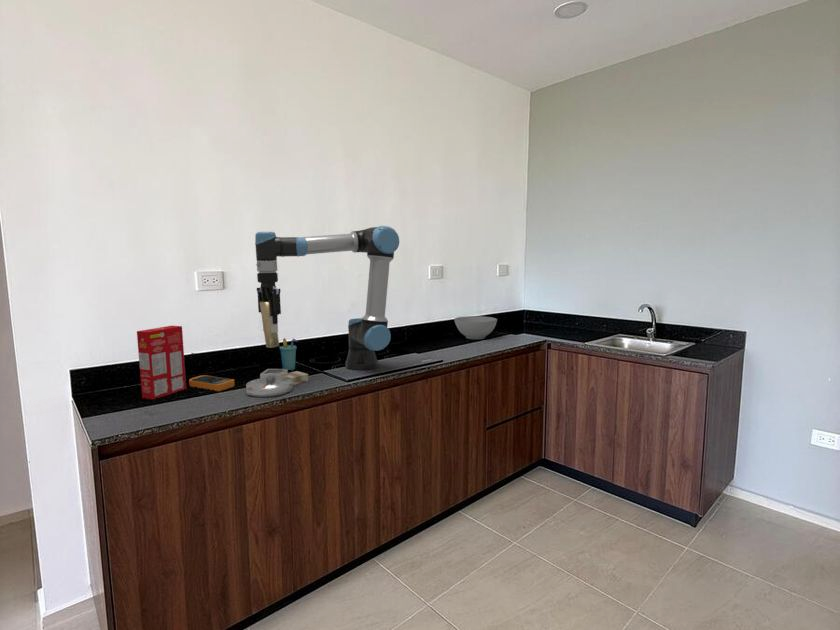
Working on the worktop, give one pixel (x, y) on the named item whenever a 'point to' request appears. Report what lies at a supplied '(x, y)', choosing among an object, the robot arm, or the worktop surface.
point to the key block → (298, 377)
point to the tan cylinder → (268, 325)
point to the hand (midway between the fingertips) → (270, 331)
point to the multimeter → (211, 383)
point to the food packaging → (161, 361)
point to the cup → (288, 355)
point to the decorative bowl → (475, 326)
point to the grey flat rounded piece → (270, 384)
